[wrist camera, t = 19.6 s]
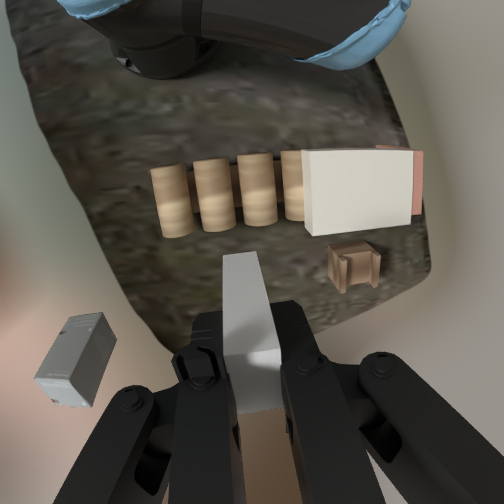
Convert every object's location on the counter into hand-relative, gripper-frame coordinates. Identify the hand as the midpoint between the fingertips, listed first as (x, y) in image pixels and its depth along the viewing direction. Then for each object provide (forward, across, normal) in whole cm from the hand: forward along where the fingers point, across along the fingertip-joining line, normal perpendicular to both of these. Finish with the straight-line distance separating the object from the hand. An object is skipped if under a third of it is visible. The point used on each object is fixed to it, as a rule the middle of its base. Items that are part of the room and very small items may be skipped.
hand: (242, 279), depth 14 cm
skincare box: (+27, -28, -21) cm, 44 cm away
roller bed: (+26, +6, 0) cm, 27 cm away
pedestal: (+26, +16, -13) cm, 34 cm away
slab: (+20, +14, 0) cm, 24 cm away
